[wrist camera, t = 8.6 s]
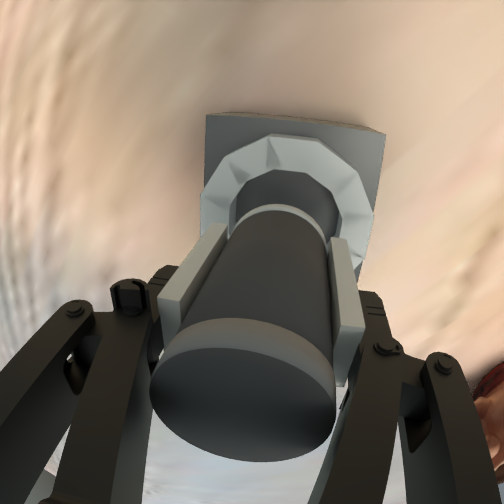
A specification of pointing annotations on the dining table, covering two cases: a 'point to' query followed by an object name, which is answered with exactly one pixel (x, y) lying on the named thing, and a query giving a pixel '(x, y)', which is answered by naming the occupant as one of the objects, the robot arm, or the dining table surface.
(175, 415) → the lens
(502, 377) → the brown clay mug
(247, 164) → the camera body
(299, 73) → the dining table surface
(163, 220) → the dining table surface
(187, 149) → the dining table surface
